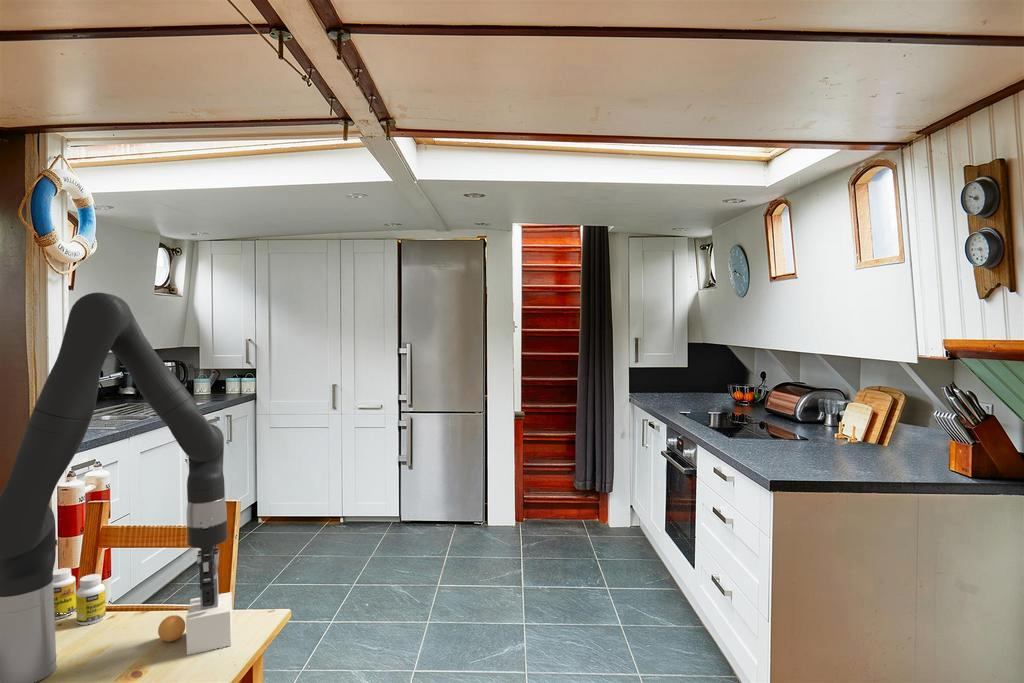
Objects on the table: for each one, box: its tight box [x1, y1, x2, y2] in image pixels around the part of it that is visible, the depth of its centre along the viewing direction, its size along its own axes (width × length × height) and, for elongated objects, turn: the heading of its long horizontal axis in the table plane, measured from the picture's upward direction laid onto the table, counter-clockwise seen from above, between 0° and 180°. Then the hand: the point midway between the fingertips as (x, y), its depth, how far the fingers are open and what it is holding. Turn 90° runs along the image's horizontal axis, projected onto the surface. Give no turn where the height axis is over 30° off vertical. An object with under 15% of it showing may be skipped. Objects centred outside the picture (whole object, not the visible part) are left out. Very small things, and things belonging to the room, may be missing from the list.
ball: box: [157, 614, 186, 643], centre depth 126 cm, size 5×5×5 cm
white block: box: [185, 572, 234, 656], centre depth 126 cm, size 8×10×13 cm
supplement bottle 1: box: [53, 567, 77, 620], centre depth 138 cm, size 6×6×10 cm
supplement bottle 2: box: [75, 573, 107, 626], centre depth 135 cm, size 5×5×10 cm
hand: (209, 599), depth 126 cm, fingers open, 5 cm apart
